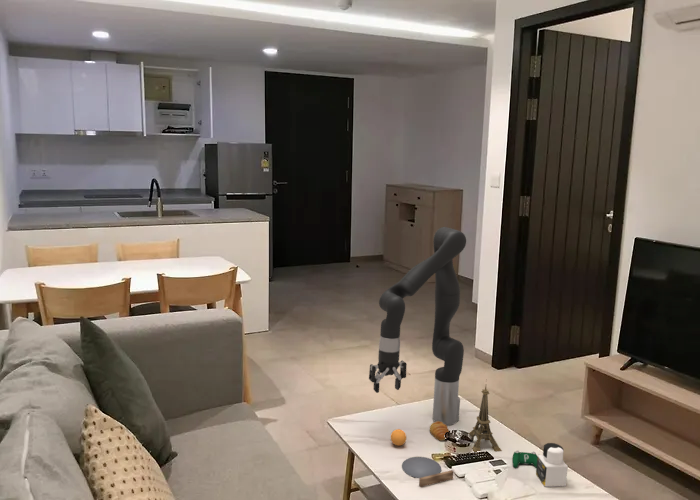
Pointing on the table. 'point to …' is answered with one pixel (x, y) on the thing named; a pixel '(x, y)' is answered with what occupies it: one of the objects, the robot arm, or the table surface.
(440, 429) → the pastry
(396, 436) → the ball
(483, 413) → the eiffel tower
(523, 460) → the gaming controller
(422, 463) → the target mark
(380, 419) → the table surface
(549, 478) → the medicine bottle
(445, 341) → the robot arm
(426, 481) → the strip
